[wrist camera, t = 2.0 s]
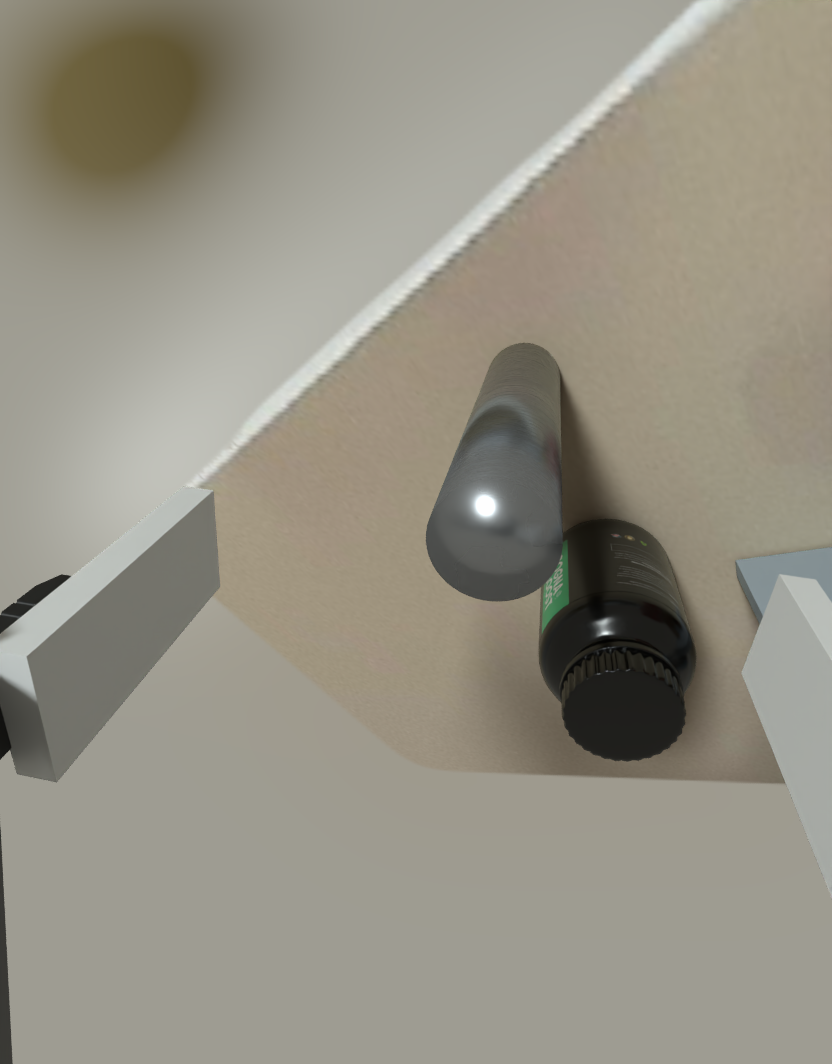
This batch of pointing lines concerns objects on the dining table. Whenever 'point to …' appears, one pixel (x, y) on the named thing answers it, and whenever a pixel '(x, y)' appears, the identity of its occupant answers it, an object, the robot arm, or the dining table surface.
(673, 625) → the supplement bottle
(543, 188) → the dining table surface
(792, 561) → the hinge leaf swing
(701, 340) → the dining table surface
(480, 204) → the dining table surface
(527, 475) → the hinge pin
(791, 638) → the robot arm
